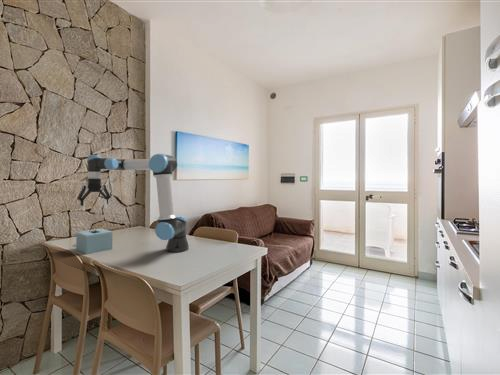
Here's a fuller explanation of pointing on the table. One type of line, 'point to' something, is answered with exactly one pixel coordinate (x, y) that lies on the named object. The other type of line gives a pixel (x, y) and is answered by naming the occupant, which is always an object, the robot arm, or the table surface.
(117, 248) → the table surface
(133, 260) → the table surface
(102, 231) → the box
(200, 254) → the table surface
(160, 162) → the robot arm
